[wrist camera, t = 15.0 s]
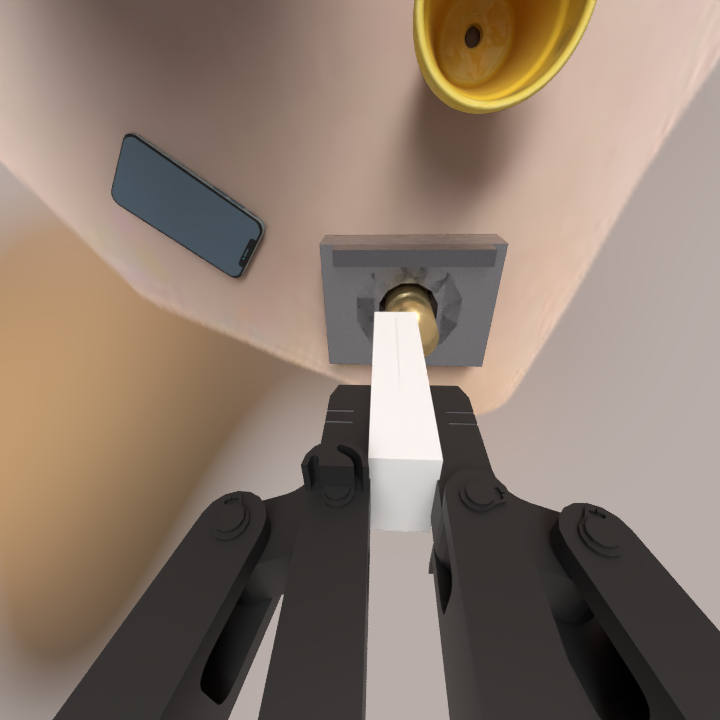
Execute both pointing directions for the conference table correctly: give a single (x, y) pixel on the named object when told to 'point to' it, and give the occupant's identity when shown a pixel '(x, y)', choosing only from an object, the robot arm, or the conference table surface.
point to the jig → (412, 265)
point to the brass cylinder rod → (418, 301)
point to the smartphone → (185, 206)
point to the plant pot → (495, 48)
